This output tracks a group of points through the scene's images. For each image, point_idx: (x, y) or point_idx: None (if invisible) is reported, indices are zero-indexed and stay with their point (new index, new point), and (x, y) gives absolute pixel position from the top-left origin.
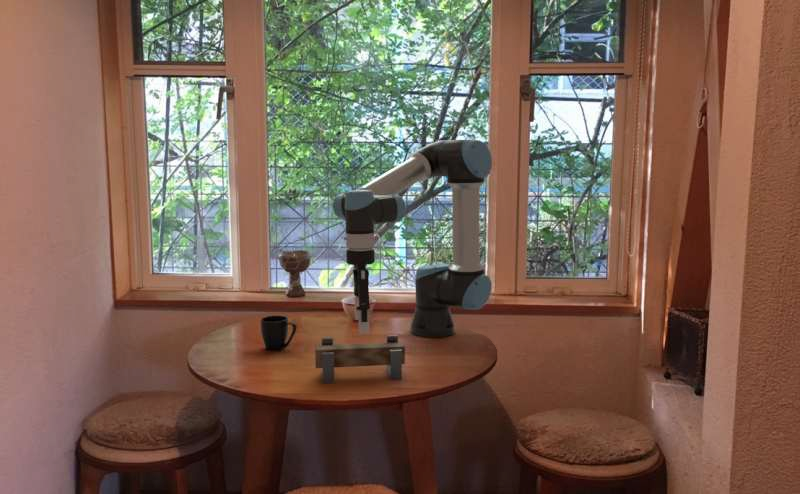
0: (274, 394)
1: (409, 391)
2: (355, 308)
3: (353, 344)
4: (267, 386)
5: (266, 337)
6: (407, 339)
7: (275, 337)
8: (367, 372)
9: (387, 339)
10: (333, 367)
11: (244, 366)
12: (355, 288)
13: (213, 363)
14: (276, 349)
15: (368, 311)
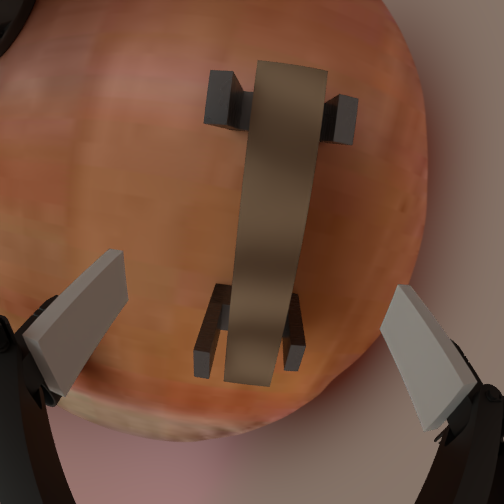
0: (317, 390)
1: (417, 127)
2: (98, 340)
3: (237, 278)
4: (272, 397)
5: None
6: (19, 63)
7: None
8: (238, 192)
9: (229, 124)
10: (301, 319)
11: (158, 406)
12: (63, 473)
13: (144, 426)
14: None
15: (467, 373)
